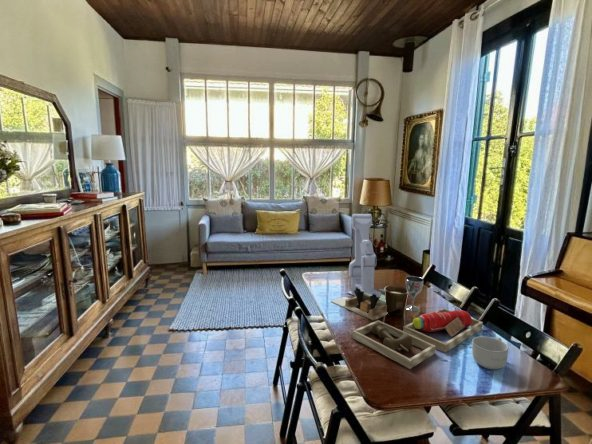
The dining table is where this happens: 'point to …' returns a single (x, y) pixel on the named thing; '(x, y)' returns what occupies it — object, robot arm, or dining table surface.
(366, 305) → the wooden block
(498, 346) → the teacup
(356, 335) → the frame
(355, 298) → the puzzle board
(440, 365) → the dining table surface
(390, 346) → the kendama
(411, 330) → the bottle frame
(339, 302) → the mat
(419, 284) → the wine glass
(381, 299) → the slide cover
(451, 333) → the water bottle
